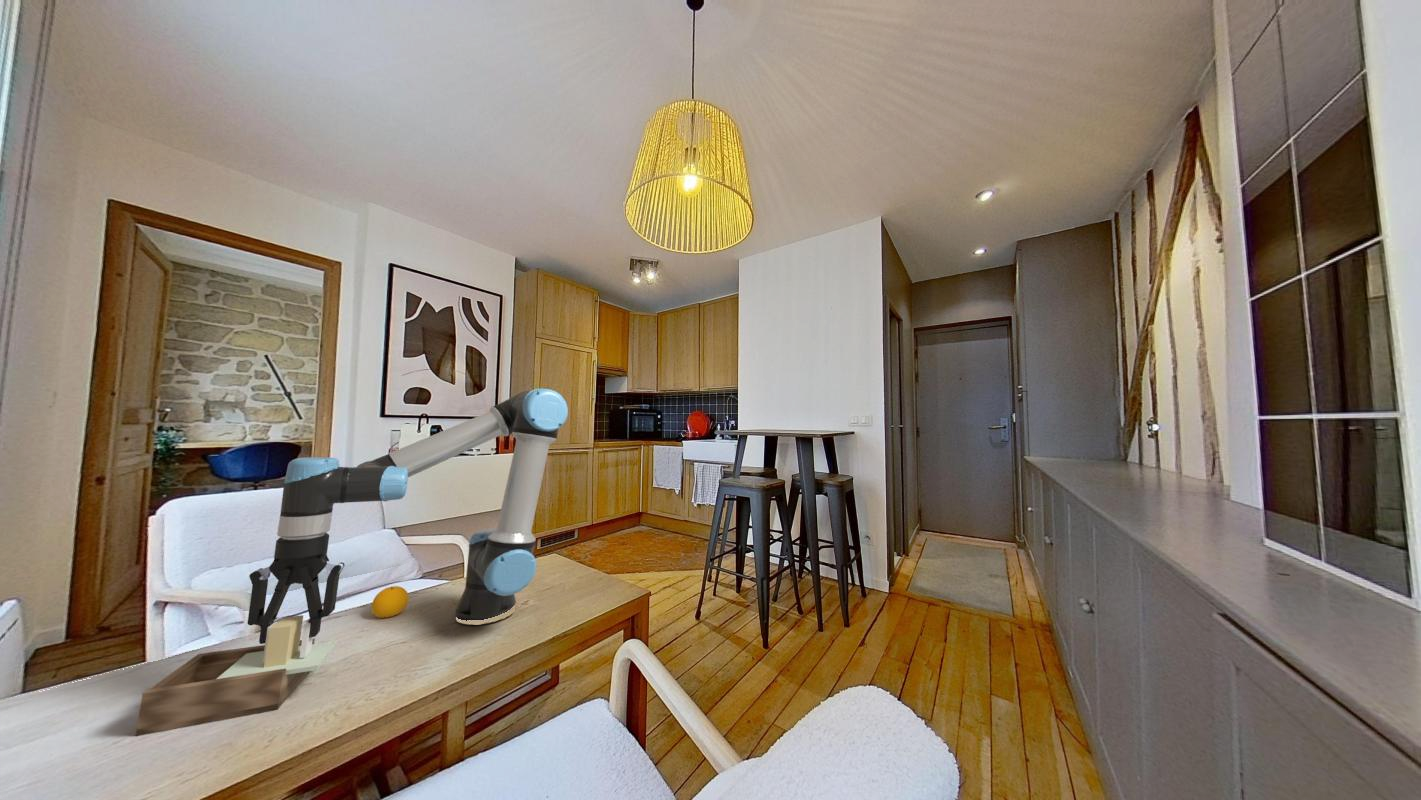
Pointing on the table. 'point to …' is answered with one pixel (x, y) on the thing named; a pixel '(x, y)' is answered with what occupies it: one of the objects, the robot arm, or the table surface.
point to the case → (213, 692)
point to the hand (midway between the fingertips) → (287, 656)
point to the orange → (390, 602)
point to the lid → (283, 652)
